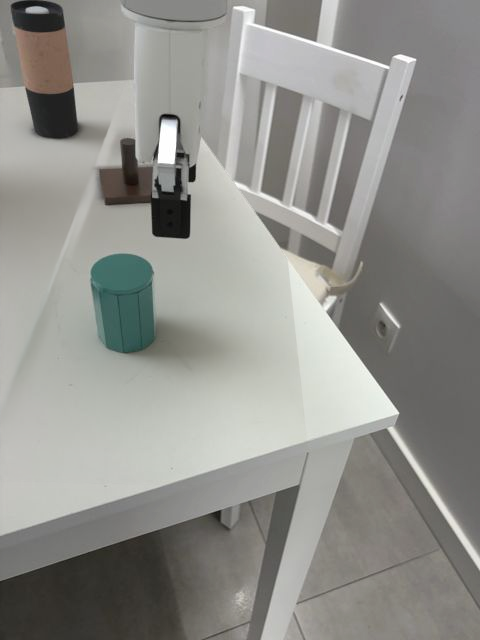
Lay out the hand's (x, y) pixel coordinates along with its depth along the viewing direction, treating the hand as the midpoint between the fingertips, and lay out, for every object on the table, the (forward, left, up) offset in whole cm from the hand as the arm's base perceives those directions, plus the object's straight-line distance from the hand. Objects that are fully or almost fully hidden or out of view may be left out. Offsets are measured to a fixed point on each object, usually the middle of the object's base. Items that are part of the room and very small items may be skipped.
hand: (175, 206), depth 51 cm
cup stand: (-10, +35, -18) cm, 40 cm away
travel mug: (-25, +51, -18) cm, 59 cm away
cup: (-6, +2, -18) cm, 19 cm away
